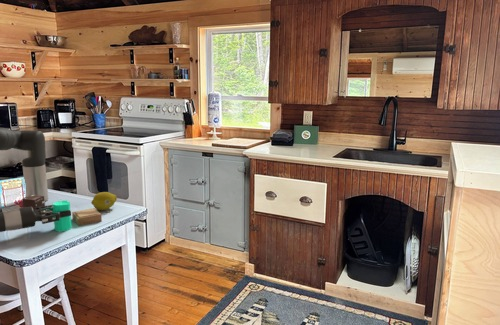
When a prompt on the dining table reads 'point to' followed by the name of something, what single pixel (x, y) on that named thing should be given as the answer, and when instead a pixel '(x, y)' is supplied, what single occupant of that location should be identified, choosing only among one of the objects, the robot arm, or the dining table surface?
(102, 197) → the lemon
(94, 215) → the stand
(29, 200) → the box
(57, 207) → the candle
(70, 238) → the dining table surface
